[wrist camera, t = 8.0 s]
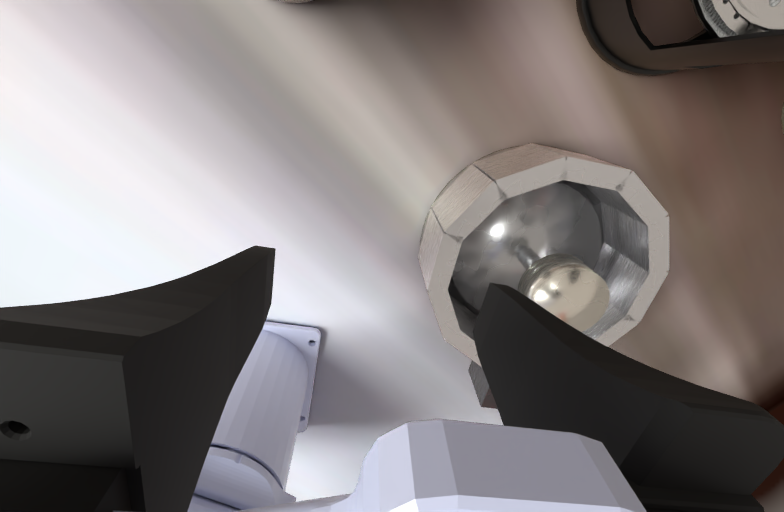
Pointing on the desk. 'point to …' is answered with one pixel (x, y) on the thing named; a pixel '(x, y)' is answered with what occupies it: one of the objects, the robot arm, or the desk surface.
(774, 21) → the french press
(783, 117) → the sage mug
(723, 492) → the robot arm
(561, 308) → the plunger
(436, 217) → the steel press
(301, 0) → the supplement bottle
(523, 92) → the desk surface
